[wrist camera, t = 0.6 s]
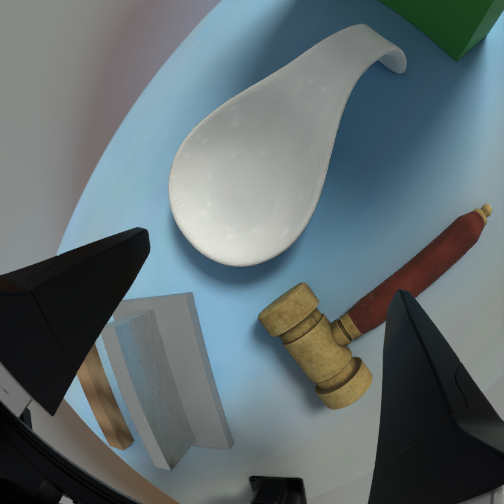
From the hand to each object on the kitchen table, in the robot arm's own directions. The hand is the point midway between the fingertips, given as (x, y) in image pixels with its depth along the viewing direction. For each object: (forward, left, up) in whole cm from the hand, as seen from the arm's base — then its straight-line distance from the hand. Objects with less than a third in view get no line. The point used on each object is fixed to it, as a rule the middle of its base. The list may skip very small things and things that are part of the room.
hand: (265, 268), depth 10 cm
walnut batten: (-15, +29, -14) cm, 36 cm away
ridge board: (-12, +16, -14) cm, 24 cm away
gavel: (-5, -7, -15) cm, 17 cm away
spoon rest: (+8, -1, -15) cm, 17 cm away
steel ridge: (-12, +16, -13) cm, 24 cm away
